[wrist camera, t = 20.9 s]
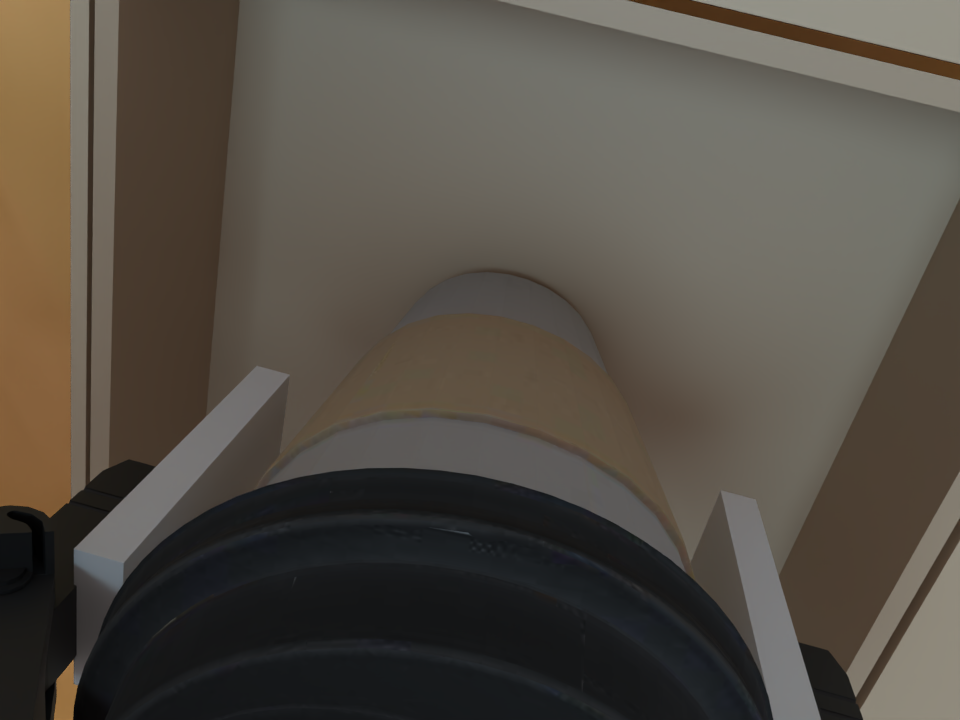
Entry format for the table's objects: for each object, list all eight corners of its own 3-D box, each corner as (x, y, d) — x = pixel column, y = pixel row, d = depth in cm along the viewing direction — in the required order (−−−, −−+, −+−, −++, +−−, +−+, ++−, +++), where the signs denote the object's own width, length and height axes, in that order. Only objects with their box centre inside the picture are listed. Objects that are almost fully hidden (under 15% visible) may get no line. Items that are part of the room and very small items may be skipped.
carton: (170, 529, 29) (66, 650, 23) (229, -384, 18) (61, -556, 12) (899, 734, 27) (970, 913, 22) (1435, -116, 17) (1836, -179, 11)
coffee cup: (658, 498, 24) (792, 1138, 11) (356, 508, 25) (128, 1100, 12) (656, 189, 20) (862, 570, 7) (300, 216, 22) (-132, 593, 8)
